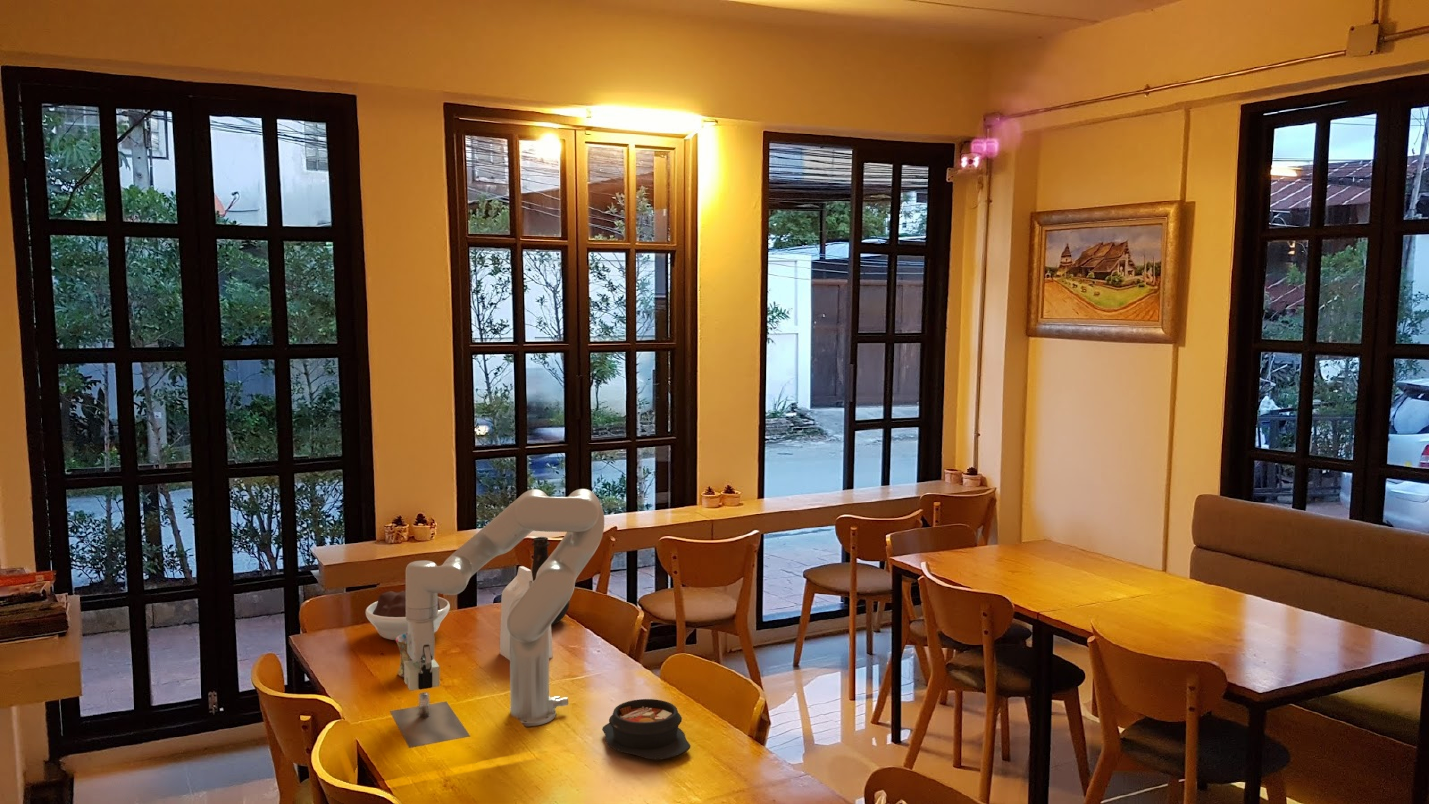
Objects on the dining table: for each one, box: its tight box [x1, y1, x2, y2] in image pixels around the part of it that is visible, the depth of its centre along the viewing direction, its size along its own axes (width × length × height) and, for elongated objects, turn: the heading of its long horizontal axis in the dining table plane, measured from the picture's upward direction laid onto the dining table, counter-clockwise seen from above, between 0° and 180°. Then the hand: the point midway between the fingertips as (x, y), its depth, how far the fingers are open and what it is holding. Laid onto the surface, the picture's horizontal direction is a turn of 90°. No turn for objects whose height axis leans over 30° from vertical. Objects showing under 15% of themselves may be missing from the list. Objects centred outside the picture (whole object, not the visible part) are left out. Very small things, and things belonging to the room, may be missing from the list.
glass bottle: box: [530, 536, 570, 626], centre depth 332 cm, size 18×18×28 cm
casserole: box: [601, 698, 691, 761], centre depth 240 cm, size 25×19×8 cm
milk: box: [499, 565, 554, 661], centre depth 301 cm, size 12×12×26 cm
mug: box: [395, 633, 425, 678], centre depth 286 cm, size 12×9×11 cm
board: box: [389, 701, 471, 749], centre depth 248 cm, size 14×24×2 cm, turn 28°
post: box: [418, 691, 430, 718], centre depth 253 cm, size 2×4×6 cm, turn 28°
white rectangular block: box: [403, 658, 440, 692], centre depth 252 cm, size 7×7×5 cm
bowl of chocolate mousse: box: [365, 590, 451, 641], centre depth 319 cm, size 25×25×15 cm
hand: (421, 682), depth 252 cm, fingers closed on white rectangular block, 7 cm apart
